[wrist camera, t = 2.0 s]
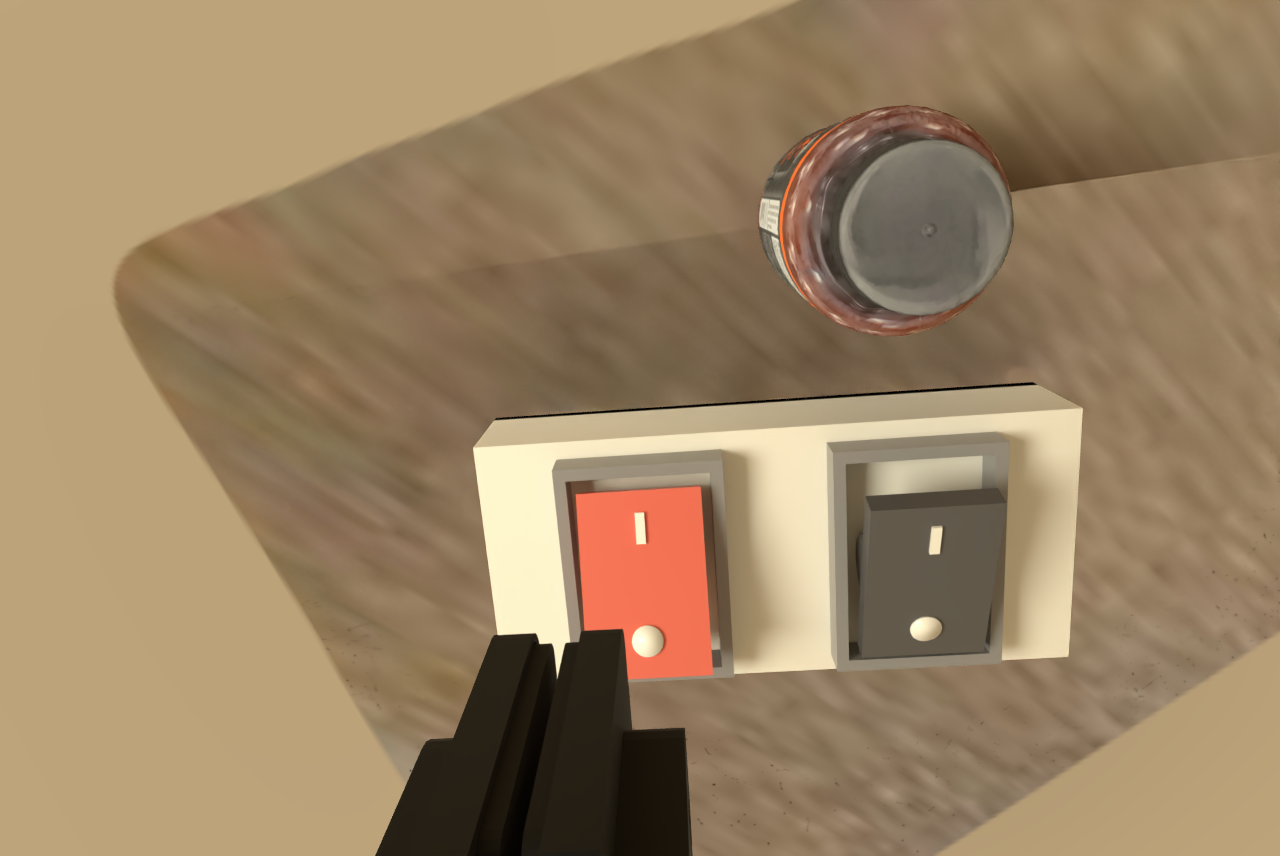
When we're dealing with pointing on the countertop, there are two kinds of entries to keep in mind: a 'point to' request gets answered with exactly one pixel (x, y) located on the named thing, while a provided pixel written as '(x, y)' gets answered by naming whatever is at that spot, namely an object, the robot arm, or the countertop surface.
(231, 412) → the countertop surface
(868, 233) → the supplement bottle
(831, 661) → the rocker switch panel
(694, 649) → the red rocker
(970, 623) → the black rocker
